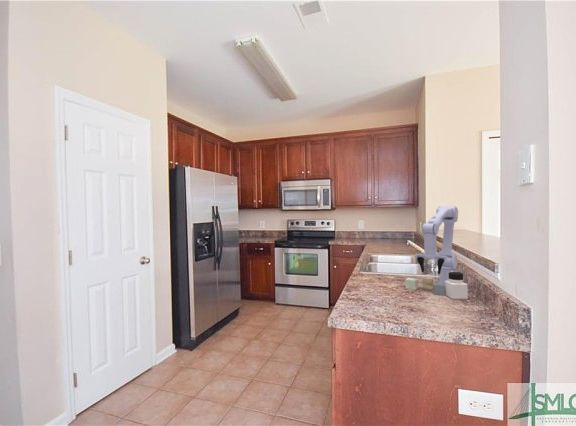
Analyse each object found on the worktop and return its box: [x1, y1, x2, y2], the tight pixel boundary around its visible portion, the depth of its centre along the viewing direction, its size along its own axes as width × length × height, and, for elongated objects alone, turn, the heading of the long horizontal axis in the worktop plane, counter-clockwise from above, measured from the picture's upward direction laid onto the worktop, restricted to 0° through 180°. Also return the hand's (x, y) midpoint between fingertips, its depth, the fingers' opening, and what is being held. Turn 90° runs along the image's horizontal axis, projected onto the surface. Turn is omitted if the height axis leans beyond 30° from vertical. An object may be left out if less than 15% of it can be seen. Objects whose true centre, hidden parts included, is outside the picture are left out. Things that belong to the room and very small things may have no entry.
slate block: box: [433, 282, 446, 296], centre depth 140 cm, size 4×4×5 cm
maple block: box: [421, 277, 435, 291], centre depth 150 cm, size 4×4×5 cm
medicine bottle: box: [445, 270, 469, 300], centre depth 134 cm, size 7×7×12 cm
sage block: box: [405, 277, 419, 291], centre depth 151 cm, size 5×5×5 cm
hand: (430, 272), depth 145 cm, fingers open, 7 cm apart
